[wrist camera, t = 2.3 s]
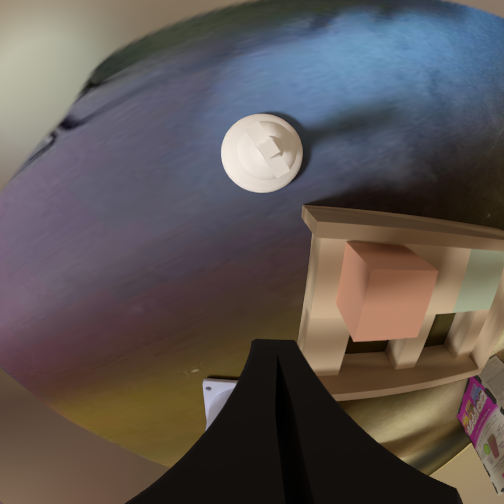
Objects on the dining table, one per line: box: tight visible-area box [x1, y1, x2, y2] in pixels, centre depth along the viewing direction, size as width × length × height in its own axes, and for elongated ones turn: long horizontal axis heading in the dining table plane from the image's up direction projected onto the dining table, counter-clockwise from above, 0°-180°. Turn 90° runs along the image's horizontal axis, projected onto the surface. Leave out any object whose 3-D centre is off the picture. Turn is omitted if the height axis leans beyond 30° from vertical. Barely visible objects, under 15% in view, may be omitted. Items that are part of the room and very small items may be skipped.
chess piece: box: [221, 114, 303, 193], centre depth 12 cm, size 5×5×10 cm
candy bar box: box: [457, 354, 504, 496], centre depth 17 cm, size 11×5×16 cm, turn 19°
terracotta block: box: [336, 242, 439, 342], centre depth 14 cm, size 4×4×4 cm
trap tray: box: [297, 205, 504, 401], centre depth 17 cm, size 13×19×4 cm
